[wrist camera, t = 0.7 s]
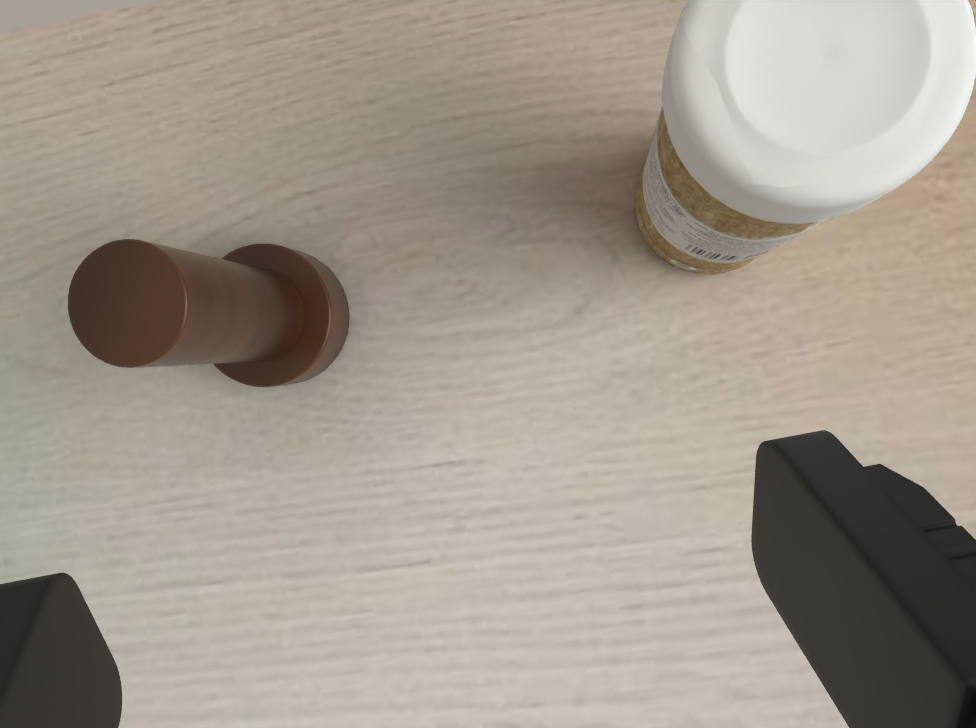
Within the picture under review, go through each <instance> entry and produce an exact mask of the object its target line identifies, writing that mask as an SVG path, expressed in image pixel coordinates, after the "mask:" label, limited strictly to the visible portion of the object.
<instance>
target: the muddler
mask: <svg viewBox="0 0 976 728" xmlns="http://www.w3.org/2000/svg"><path fill="white" fill-rule="evenodd" d="M68 312H69V317H70V322H71V324H72V327H73V330H74V332H75V334H76V336H77V338H78V339H79V341H80V342H81V343H82V345H83V346H84V347H85V348H86V349H87V350H88V351H89V352H90V353H91V354H92V355H94V356H95V357H97V358H98V359H100V360H101V361H103V362H105V363H108V364H111V365H114V366H118V367H126V368H135V367H155V366H175V365H194V364H214V365H215V367H216V368H218V369H219V370H220V371H221V372H222V373H223V374H225V375H226V376H228V377H229V378H231V379H233V380H235V381H237V382H240V383H243V384H246V385H250V386H255V387H271V386H279V385H287V384H295V383H299V382H303V381H306V380H308V379H311V378H313V377H315V376H317V375H318V374H320V373H321V372H323V371H324V370H325V369H326V368H327V367H328V366H329V365H331V364H332V362H333V361H334V360H335V359H336V357H337V356H338V354H339V353H340V351H341V349H342V347H343V345H344V343H345V340H346V336H347V333H348V327H349V307H348V302H347V298H346V295H345V292H344V290H343V288H342V286H341V284H340V282H339V280H338V279H337V278H336V276H335V275H334V274H333V272H332V271H331V270H330V269H329V268H328V267H327V266H325V265H324V264H323V263H322V262H320V261H319V260H317V259H316V258H314V257H312V256H309V255H307V254H304V253H301V252H298V251H295V250H292V249H288V248H285V247H282V246H279V245H273V244H253V245H248V246H244V247H241V248H239V249H236V250H234V251H232V252H230V253H229V254H227V255H226V256H224V257H223V258H222V259H219V258H214V257H210V256H206V255H201V254H197V253H193V252H188V251H184V250H180V249H175V248H171V247H167V246H162V245H158V244H154V243H149V242H145V241H140V240H135V239H124V240H117V241H113V242H110V243H107V244H105V245H103V246H101V247H99V248H97V249H96V250H94V251H93V252H92V253H90V254H89V255H88V256H87V257H86V258H85V259H84V260H83V262H82V263H81V264H80V266H79V267H78V269H77V270H76V272H75V274H74V276H73V279H72V281H71V285H70V288H69V295H68Z"/></svg>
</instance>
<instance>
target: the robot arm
mask: <svg viewBox="0 0 976 728" xmlns="http://www.w3.org/2000/svg"><path fill="white" fill-rule="evenodd" d="M752 551H753V557H754V562H755V566H756V569H757V572H758V575H759V578H760V581H761V583H762V585H763V587H764V589H765V591H766V593H767V595H768V596H769V598H770V599H771V601H772V603H773V604H774V606H775V608H776V609H777V611H778V612H779V614H780V616H781V617H782V619H783V621H784V622H785V624H786V625H787V627H788V629H789V630H790V632H791V634H792V635H793V637H794V638H795V640H796V642H797V643H798V645H799V647H800V648H801V650H802V651H803V653H804V655H805V656H806V658H807V660H808V661H809V663H810V664H811V666H812V668H813V669H814V671H815V673H816V674H817V676H818V677H819V679H820V681H821V682H822V684H823V686H824V687H825V689H826V690H827V692H828V694H829V695H830V697H831V699H832V700H833V702H834V703H835V705H836V707H837V708H838V710H839V712H840V713H841V715H842V716H843V718H844V720H845V721H846V723H847V725H848V726H849V728H976V540H975V539H974V538H973V537H972V536H971V535H970V534H969V533H968V532H967V531H966V530H965V529H964V528H963V527H962V526H957V525H956V523H955V519H954V518H953V517H952V516H951V515H950V514H949V513H948V512H947V511H946V510H945V509H944V508H943V507H942V506H941V505H940V504H939V503H938V502H937V501H936V500H935V499H934V498H933V497H932V496H931V495H930V493H929V492H928V491H927V490H926V489H925V488H923V487H922V486H920V485H918V484H916V483H914V482H912V481H911V480H909V479H907V478H905V477H903V476H901V475H900V474H898V473H896V472H894V471H892V470H890V469H889V468H887V467H885V466H883V465H881V464H877V465H872V466H867V467H863V466H862V465H861V464H860V463H859V462H858V461H857V460H856V458H855V457H854V456H853V455H852V454H851V453H850V452H849V451H848V450H847V449H846V448H845V447H844V445H843V444H842V443H841V442H840V441H839V440H838V439H837V438H836V437H835V436H834V435H833V434H831V433H830V432H828V431H825V430H824V431H817V432H811V433H806V434H801V435H795V436H790V437H785V438H780V439H774V440H769V441H764V442H762V443H761V444H760V445H759V448H758V450H757V455H756V469H755V486H754V503H753V521H752ZM121 710H122V688H121V681H120V676H119V671H118V668H117V665H116V663H115V661H114V658H113V656H112V654H111V652H110V650H109V648H108V646H107V644H106V642H105V640H104V638H103V636H102V634H101V632H100V630H99V628H98V626H97V624H96V622H95V620H94V618H93V616H92V614H91V612H90V610H89V608H88V606H87V604H86V602H85V600H84V598H83V596H82V593H81V591H80V589H79V587H78V586H77V584H76V582H75V581H74V579H73V578H72V577H71V576H69V575H68V574H66V573H57V574H52V575H47V576H41V577H36V578H31V579H26V580H20V581H15V582H10V583H4V584H0V728H118V726H119V722H120V717H121Z"/></svg>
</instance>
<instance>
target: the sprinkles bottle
mask: <svg viewBox="0 0 976 728" xmlns="http://www.w3.org/2000/svg"><path fill="white" fill-rule="evenodd" d="M975 76H976V26H975V22H974V17H973V11H972V9H971V6H970V3H969V1H968V0H688V1H687V3H686V5H685V7H684V8H683V10H682V13H681V15H680V18H679V21H678V24H677V26H676V29H675V32H674V35H673V38H672V42H671V45H670V49H669V52H668V56H667V61H666V65H665V69H664V75H663V85H662V104H663V105H662V108H661V111H660V114H659V118H658V121H657V125H656V129H655V133H654V136H653V139H652V143H651V146H650V149H649V153H648V156H647V160H646V163H645V167H644V169H643V171H642V173H641V175H640V179H639V185H638V188H637V191H636V199H635V211H636V215H637V220H638V224H639V228H640V231H641V232H642V234H643V235H644V237H645V239H646V241H647V242H648V244H649V245H650V247H651V248H652V249H653V250H654V251H655V252H656V253H657V254H658V255H659V256H660V257H661V258H663V259H664V260H665V261H667V262H668V263H670V264H672V265H673V266H675V267H677V268H679V269H682V270H687V271H691V272H693V273H705V274H719V273H724V272H727V271H731V270H735V269H738V268H740V267H743V266H744V265H746V264H748V263H749V262H750V261H752V260H753V259H755V258H756V257H758V256H760V255H762V254H764V253H766V252H768V251H770V250H772V249H774V248H776V247H778V246H780V245H782V244H784V243H786V242H788V241H789V240H791V239H793V238H795V237H797V236H799V235H800V234H802V233H804V232H806V231H808V230H810V229H811V228H813V227H815V226H816V225H818V224H820V223H821V222H823V221H825V220H830V219H834V218H837V217H840V216H844V215H846V214H849V213H851V212H853V211H856V210H858V209H860V208H862V207H864V206H866V205H868V204H870V203H871V202H873V201H875V200H877V199H879V198H880V197H882V196H884V195H885V194H887V193H889V192H890V191H892V190H894V189H895V188H897V187H898V186H900V185H902V184H903V183H904V182H906V181H907V180H908V179H910V178H911V177H913V176H914V175H915V174H917V173H918V172H919V171H920V170H921V169H922V168H924V167H925V166H926V165H927V164H928V163H929V162H930V161H931V160H932V159H933V158H934V157H935V156H936V155H937V154H938V153H939V151H940V150H941V149H942V148H943V147H944V145H945V144H946V143H947V141H948V140H949V138H950V137H951V136H952V134H953V133H954V131H955V130H956V128H957V126H958V124H959V123H960V121H961V119H962V116H963V114H964V112H965V110H966V107H967V104H968V102H969V99H970V96H971V94H972V89H973V85H974V81H975Z"/></svg>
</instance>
